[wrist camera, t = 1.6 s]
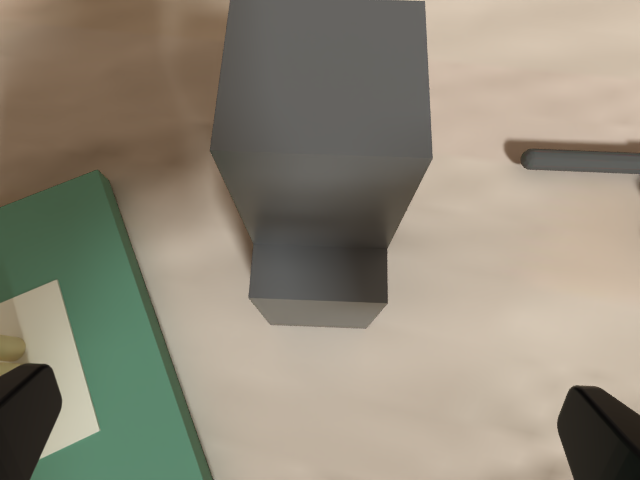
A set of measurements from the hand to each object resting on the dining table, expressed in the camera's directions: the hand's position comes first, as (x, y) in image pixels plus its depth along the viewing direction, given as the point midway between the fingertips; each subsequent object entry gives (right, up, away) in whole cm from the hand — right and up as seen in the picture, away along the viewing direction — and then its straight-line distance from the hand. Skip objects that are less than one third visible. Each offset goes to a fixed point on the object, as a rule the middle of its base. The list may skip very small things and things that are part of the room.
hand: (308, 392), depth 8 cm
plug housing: (0, +2, +13) cm, 13 cm away
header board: (-12, -3, +12) cm, 17 cm away
